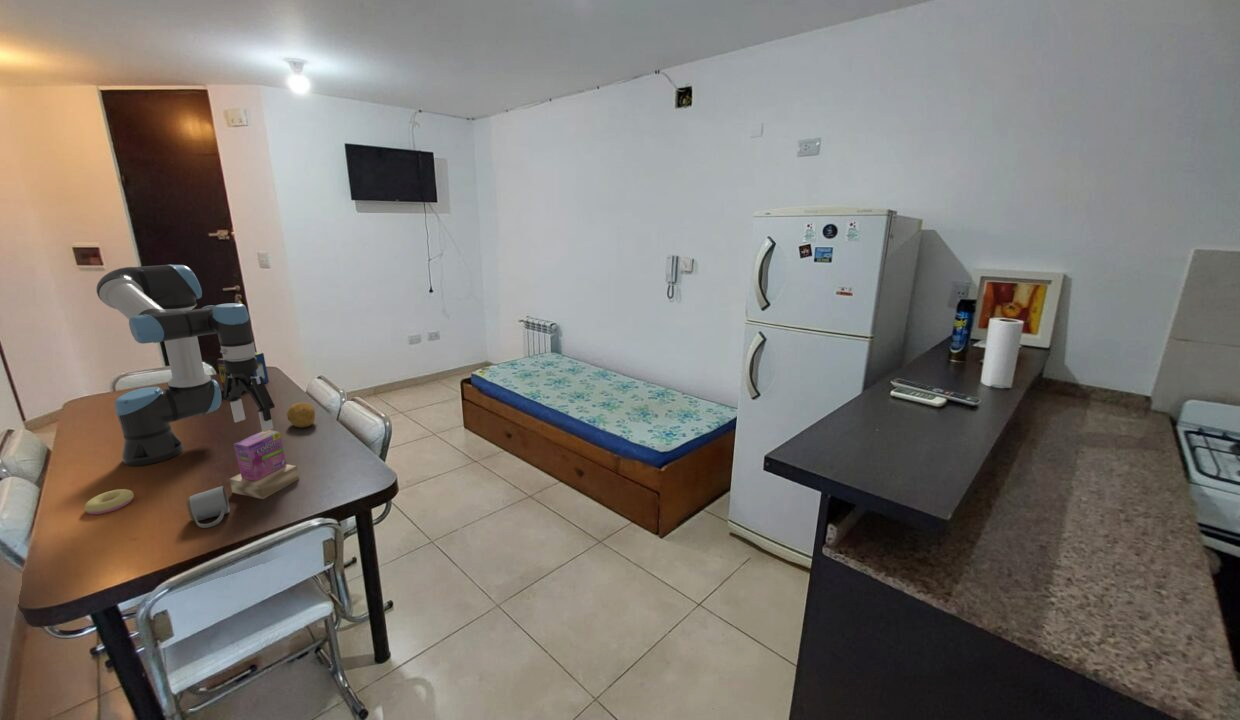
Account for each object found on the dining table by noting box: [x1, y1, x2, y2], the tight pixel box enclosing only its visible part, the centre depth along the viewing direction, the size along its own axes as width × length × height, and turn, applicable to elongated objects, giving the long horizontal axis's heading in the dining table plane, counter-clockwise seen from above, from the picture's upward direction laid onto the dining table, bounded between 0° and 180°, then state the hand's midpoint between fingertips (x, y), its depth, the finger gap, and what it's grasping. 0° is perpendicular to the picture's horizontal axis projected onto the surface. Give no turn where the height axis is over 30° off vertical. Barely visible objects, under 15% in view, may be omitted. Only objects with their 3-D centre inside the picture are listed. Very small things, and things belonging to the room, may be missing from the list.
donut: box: [84, 488, 135, 515], centre depth 137 cm, size 10×5×9 cm
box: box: [233, 429, 287, 481], centre depth 147 cm, size 10×6×12 cm, turn 164°
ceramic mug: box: [186, 485, 230, 529], centre depth 132 cm, size 11×8×8 cm
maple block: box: [229, 463, 300, 500], centre depth 149 cm, size 12×12×5 cm
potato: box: [286, 402, 316, 429], centre depth 191 cm, size 10×13×9 cm
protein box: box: [216, 351, 270, 393], centre depth 232 cm, size 10×15×16 cm
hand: (253, 425), depth 144 cm, fingers open, 13 cm apart
